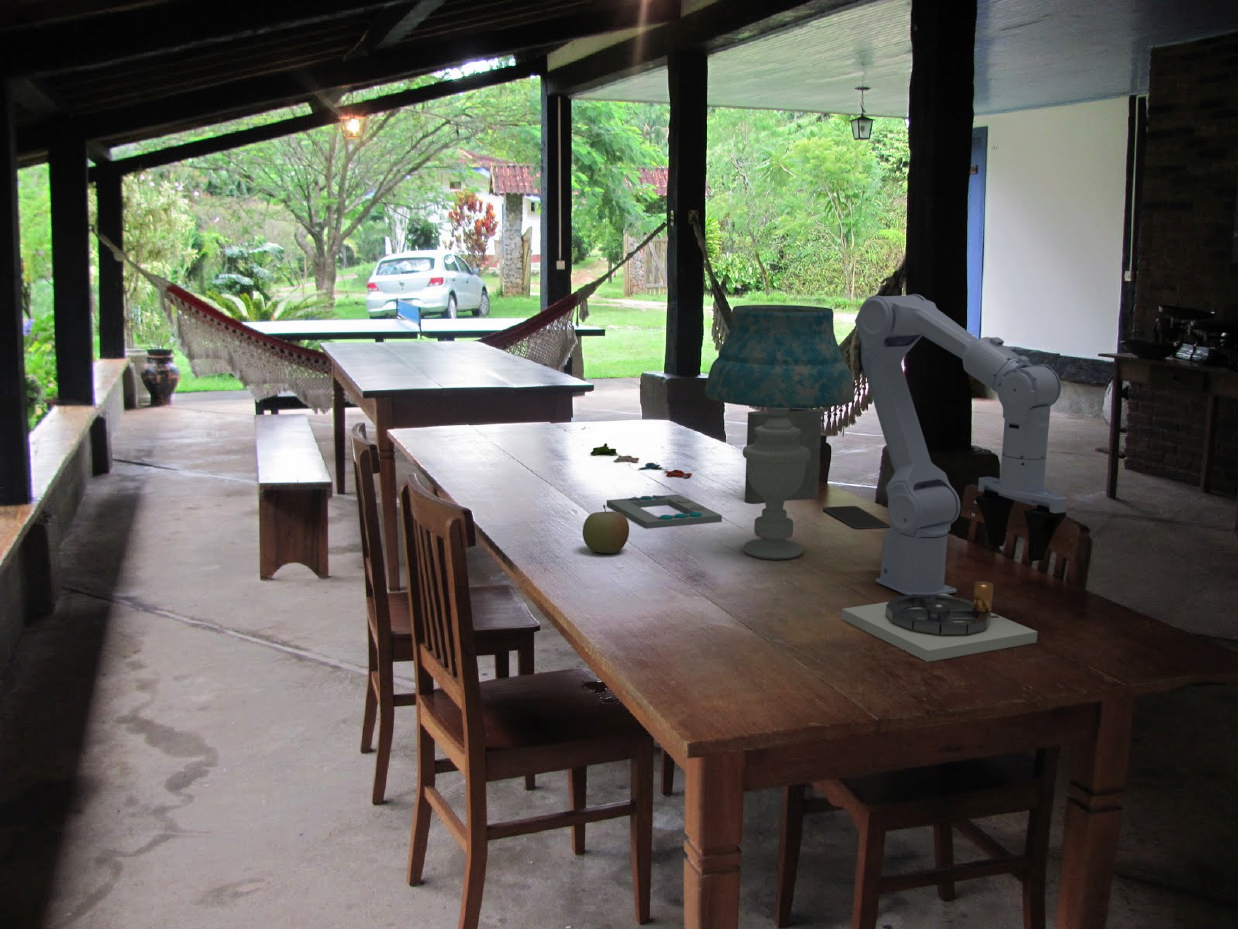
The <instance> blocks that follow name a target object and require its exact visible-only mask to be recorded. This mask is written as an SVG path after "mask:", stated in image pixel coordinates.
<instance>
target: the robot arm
mask: <svg viewBox="0 0 1238 929" xmlns="http://www.w3.org/2000/svg"><path fill="white" fill-rule="evenodd" d="M856 315H857V316H856V318H855V320H854V323H855V326H856V330H857V333H858V336H859V339H860V350H861V351H860V352H861V353H860V354H861V356H860V358H861V365H862V369H863V371H864V375H865V378H866V382H867V385H868V388H869V392H870V395H871V398H872V401H873V405H874V408H875V410H876V415H877V417H878V418H877V419H878V421H879V425H880V428H881V431H882V435H883V438H884V441H885V444H886V445H885V446H886V448H887V451H888V454H889V455H888V456H889V458H890V461H891V462H890V463H891V465H892V467H893V471H894V473H893V475H892V476H891V479H889V481H888V483H887V485H886V487H885V490H886V495H887V499H888V500H887V501H888V503H887V515H888V518H889V521H890V523H891V524H892V527H891V526H890V528H888V529H887V531H886V532H885V534H884V536H883V539H882V543H881V561H880V577H877V578H876V579H875V582H876V583H878V584H879V585H882V586H885V587H887V588H889V589H890V590H891V589H892V590H894V591H897V592H898V593H901V594H903V595H904V596H906V595H912V594H935V595H939V594H948V595H950V594H955V593H957V588H955V587H952V586H949V585H948V584H945V577H946V576H945V574H946V561H947V548H948V532H950V531H951V527H952V526H951V525H952V524H953V523H954V522H955V521H956V520H957V519H958V518H959V515H960V512H961V501H960V497H959V495H958V493H957V491H956V490H955V489H954V487H952V485H951V483H950V480H949V479H948V475H947V474H946V472H945V471H943V470H942V469H941V468H939V467H938V466H936V465H935V464H934V463H933V462H932V460H931V457H930V454H929V451H928V446H927V444H926V441H925V437H924V433H923V431H922V427H921V424H920V420H919V417H918V415H917V412H916V408H915V404H914V402H913V398H912V395H911V392H910V388H909V386H908V381H907V378H906V375H905V372H904V369H903V366H902V362H903V361H904V358H905V357H906V355H907V354H908V353H909V352H910V350H911V349H912V348H913V347H914V346H915V345H916V344H917V342H918V341H919V340H920V339H921V338H922V337H924V338H926V339H927V340H929V341H931V342H932V343H934V344H936V345H938V346H940V347H941V348H943V349H945V350H947V351H948V352H950V353H951V354H953V355H955V356H957V357H958V358H960V359H961V360H962V365H963V370H964V371H965V373H967V374H968V375H970V377H971V376H972V377H973V378H974V379H976V380H978V381H979V383H982V384H983V385H985V386H986V387H987V388H989V389H991V390H992V391H994V392H995V394H996V395H997V397H998V401H999V403H1000V404H1001V407H1002V418H1004V419H1003V420H1004V421H1003V422H1004V423H1003V434H1002V435H1003V437H1002V448H1001V449H1002V450H1001V459H1000V460H1001V461H1000V462H1001V463H1000V472H999V473H1000V476H999V478H998V477H992V476H983V477H978V483H977V484H978V485H977V486H978V487H977V488H978V489H977V491H978V492H980V493H982V495H977V496H975V503H976V504H977V507H978V508H979V510H980V512H981V513H980V514H981V515H982V519H983V521H984V525H985V529H986V530H985V531H986V533H987V539H988V544H989V547H990V548H998V547H1004V546H1005V543H1006V538H1007V532H1008V524H1009V519H1010V515H1011V511H1012V508H1013V506H1014V503H1015V501H1017V502H1020V503H1024V504H1028V505H1030V506H1034V507H1036V508H1030V509H1024V511H1023V514H1024V517H1025V520H1026V525H1027V530H1028V533H1027V534H1028V543H1027V544H1028V545H1027V555H1028V556H1027V557H1028V560H1029V561H1031V562H1038V561H1044V560H1045V557H1046V554H1047V551H1048V548H1049V546H1050V544H1051V540H1052V538H1054V537H1053V536H1054V534H1055V533H1056V531H1057V529H1058V528H1059V526H1060V525H1061V523H1062V522H1063V521H1064V519H1066V517H1067V500H1068V499H1067V497H1065V496H1061V495H1060V494H1057V493H1055V492H1053V491H1051V490H1049V489H1048V486H1047V485H1046V484H1045V477H1046V476H1045V475H1046V464H1047V462H1046V461H1047V453H1048V439H1049V430H1050V418H1051V416H1050V415H1051V406H1053V405H1055V403H1056V402H1057V401H1058V400H1059V398H1060V396H1061V392H1062V382H1061V379H1060V377H1059V376H1058V373H1057V372H1056V371H1055V370H1054V369H1053V368H1051V366H1050V365H1048V364H1036V365H1033V364H1032V363H1031V362H1030V358H1028V357H1027V356H1025V355H1019V354H1017V353H1016V352H1014V351H1012V350H1011V349H1009V348H1008V347H1007V346H1004V343H1005V341H1004V340H1003V339H1001V338H1000V337H998V336H997V337H991V336H984V337H981V338H979V339H978V338H977V337H976V336H974V335H973V334H971V333H970V331H967V329H965V328H963V327H962V326H960V325H959V323H957V322H956V321H954V320H953V319H951V317H949V316H947V315H946V314H945V313H944V312H942V311H940V310H939V309H938V307H937V306H936V303H935V302H933V301H931V300H929V299H926V298H925V296H922V295H920V294H918V293H912V294H908V295H888V296H886V295H885V296H884V295H883V296H882V295H872V296H869V297H867V298H866V299H865V300H864V301H863V303H862V304H861V306H860V309H859V310H858V313H857V314H856Z"/></svg>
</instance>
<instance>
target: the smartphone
mask: <svg viewBox="0 0 1238 929" xmlns="http://www.w3.org/2000/svg"><path fill="white" fill-rule="evenodd" d="M822 512H823V513H825V514H827V515H828V516H830V517H832V518H834V519H835V520H837V521H839V522H840V523H842V524H844V525H846V526H848V527H849V528H851V529H853V530H874V529H876V530H877V529H878V530H879V529H890V528H891V525H890V524H889V523H887V522H885V521H884V520H882V519H880V518H879V517H876V516H875V515H873V514H871V513H870V512H868V511H866V510H864V509H863V508H861V507H860V506H856V505H843V506H841V505H840V506H825V507H823V508H822Z"/></svg>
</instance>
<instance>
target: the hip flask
mask: <svg viewBox="0 0 1238 929" xmlns="http://www.w3.org/2000/svg"><path fill="white" fill-rule="evenodd" d="M769 416H770V414H769V411H768V409H767V410H766V409H765V410H756V411H755V410H754V411H748V412H747V427H746V428H747V430H746V431H747V432H746V435H747V436H746V446H748V445H752V444H754V441H755V440H756V439H757V437H758V435H757V434H755V432H754V430H755V428H756V427H758V426H763V425H764V423H765V422H766V420H767V419H768V417H769ZM786 416H787V417H788V419H789V421H790V423H791V425H792V427H796V428H799V429H800V430H801V434H800V435H799V436H797V439H798V441H799V442H800V446H803V447H805V448H808V449H809V450H810V451H811V457H810V459H809V460H808V461H807V464H806V470H805V476H804V480H803V482H802V485H801V486H800V488H799V489H798V490H797V492H796V493H794V494H793V495H792V496H790V497H789V498H787V500H786V501H794V500H816V499H818V498H819V482H820V480H819V479H820V463H821V462H820V461H821V444H822V443H821V439H822V420H823V418H822V416H823V409H819V408H790V409H789V412H788V414H787V415H786ZM744 483H745V484H744V485H745V487H744V502H745V503H746V504H749V505H751V504H752V505H757V504H759V505H760V504H764V503H765V500H763V498H762V497H761V496H760V495H759V494H758V493H756V492H755V490H754V489H753V488H752V486H751V484H750V482H749V479H748V476H747V466H746V465H745V482H744Z"/></svg>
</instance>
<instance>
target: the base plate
mask: <svg viewBox="0 0 1238 929" xmlns="http://www.w3.org/2000/svg"><path fill="white" fill-rule="evenodd" d="M939 595H944V596H951V597H954V596H952V595H950V594H939ZM889 602H890V601H886V602H881V603H873V604H866V605H859V606H853V607H845V608H841V620H842V621H844V622H846V623H848V624H851V625H852V626H854V627H856V628H858V629H860V630H863V631H864V632H866V633H868V634H870V635H871V636H872V635H873V636H874V637H876V638H878V639H881V640H882V641H885V642H886V643H888V644H890V645H892V646H895V647H897V649H899V650H900V649H901V650H902V651H904V650H905V652H906V653H908V654H911V655H912V656H915V657H917V658H918V657H919V658H918V659H921V660H922V661H925V662H926V663H929V662H935V661H940V660H946V659H953V658H958V657H963V656H968V655H976V654H980V653H986V652H992V651H996V650H1002V649H1008V648H1013V647H1019V646H1025V645H1026V646H1027V645H1030V644H1035V643H1037V642H1038V641H1037V640H1038V631H1037V630H1035V629H1032V628H1030V627H1027V626H1025V625H1023V624H1019V623H1017V622H1015V621H1013V620H1010V619H1008V618H1005V617H1003V616H1001V615H998V614H996V613H993V612H991V611H989V612H990V613H991V620H990V623H989V625H988V627H987V628H986V629H985V630H982V631H978V632H974V633H970V634H935V633H929V632H922V631H916V630H914V629H913V630H911V629H909V628H906V627H904V626H901V625H898V624H896V623H893V622H892V621H891V620H890V619H889V618H888V616H887V615H886V605H887V604H888V603H889ZM901 609H925V607H924V606H923V605H914V606H910V607H906V608H901ZM950 609H957V608H950ZM917 619H922V620H928V621H933V620H929V619H927V618H917ZM950 619H951V620H952V621H953V622H965V621H969V620H973V619H977V618H950ZM935 622H938V621H935Z"/></svg>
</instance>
